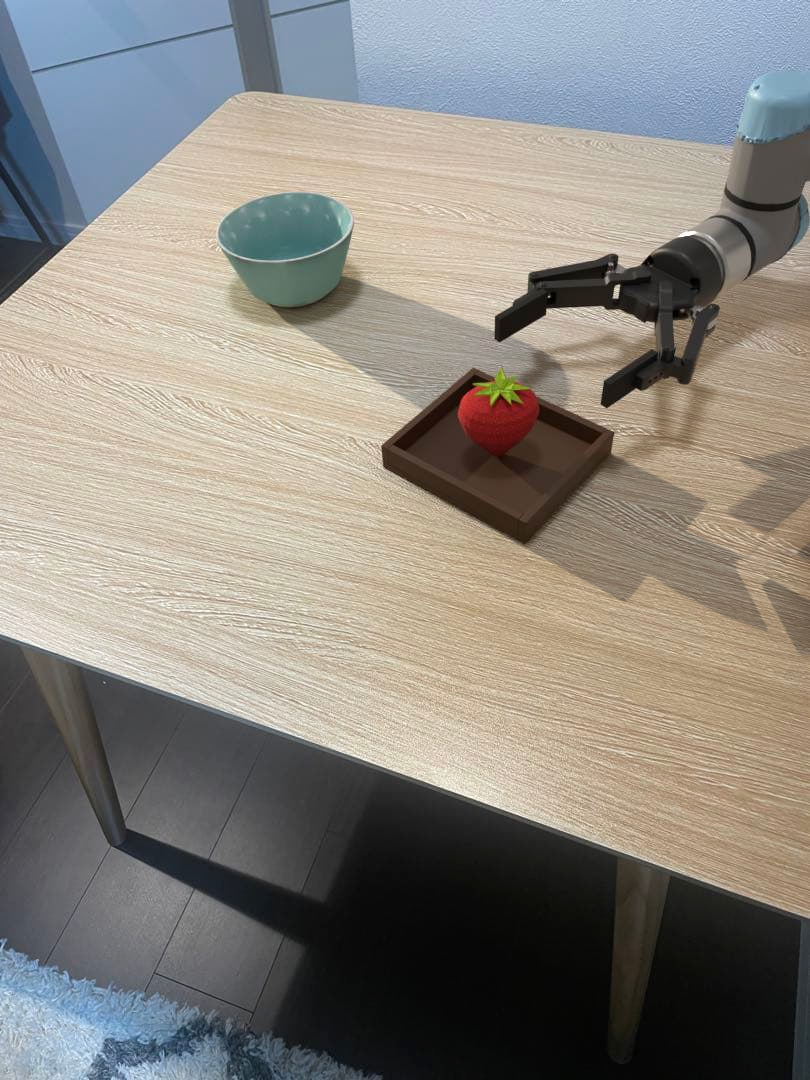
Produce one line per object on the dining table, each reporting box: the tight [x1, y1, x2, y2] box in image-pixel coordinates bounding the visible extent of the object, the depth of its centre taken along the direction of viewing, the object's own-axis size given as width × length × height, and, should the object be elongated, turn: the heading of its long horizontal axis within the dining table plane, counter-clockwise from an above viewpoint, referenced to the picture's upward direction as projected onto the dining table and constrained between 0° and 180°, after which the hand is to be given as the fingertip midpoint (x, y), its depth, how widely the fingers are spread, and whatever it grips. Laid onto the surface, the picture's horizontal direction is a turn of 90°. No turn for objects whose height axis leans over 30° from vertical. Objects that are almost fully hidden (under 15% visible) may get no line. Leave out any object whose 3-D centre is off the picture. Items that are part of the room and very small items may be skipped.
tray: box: [380, 367, 615, 545], centre depth 87 cm, size 17×15×3 cm
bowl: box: [215, 191, 355, 308], centre depth 107 cm, size 16×16×8 cm
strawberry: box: [458, 363, 539, 456], centre depth 84 cm, size 6×8×10 cm
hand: (548, 360), depth 85 cm, fingers open, 13 cm apart
